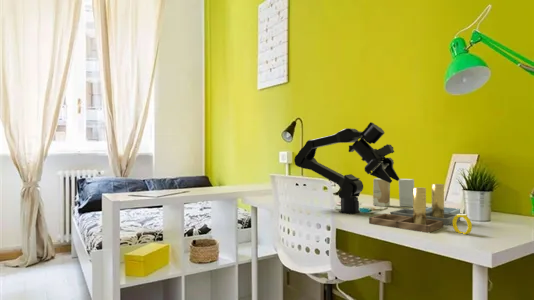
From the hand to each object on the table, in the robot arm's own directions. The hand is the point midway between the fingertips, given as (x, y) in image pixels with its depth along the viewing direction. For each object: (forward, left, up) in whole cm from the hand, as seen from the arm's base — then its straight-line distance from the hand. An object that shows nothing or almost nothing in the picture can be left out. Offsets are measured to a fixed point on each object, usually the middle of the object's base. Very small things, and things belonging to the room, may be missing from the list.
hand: (395, 181), depth 143 cm
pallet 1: (+10, -12, -14) cm, 20 cm away
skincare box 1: (-17, +21, -14) cm, 30 cm away
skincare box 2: (-8, +27, -14) cm, 31 cm away
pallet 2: (+10, +3, -14) cm, 17 cm away
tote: (+11, +17, -14) cm, 24 cm away
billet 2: (+15, +3, -14) cm, 20 cm away
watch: (+28, -11, -14) cm, 33 cm away
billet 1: (+15, -12, -14) cm, 23 cm away
